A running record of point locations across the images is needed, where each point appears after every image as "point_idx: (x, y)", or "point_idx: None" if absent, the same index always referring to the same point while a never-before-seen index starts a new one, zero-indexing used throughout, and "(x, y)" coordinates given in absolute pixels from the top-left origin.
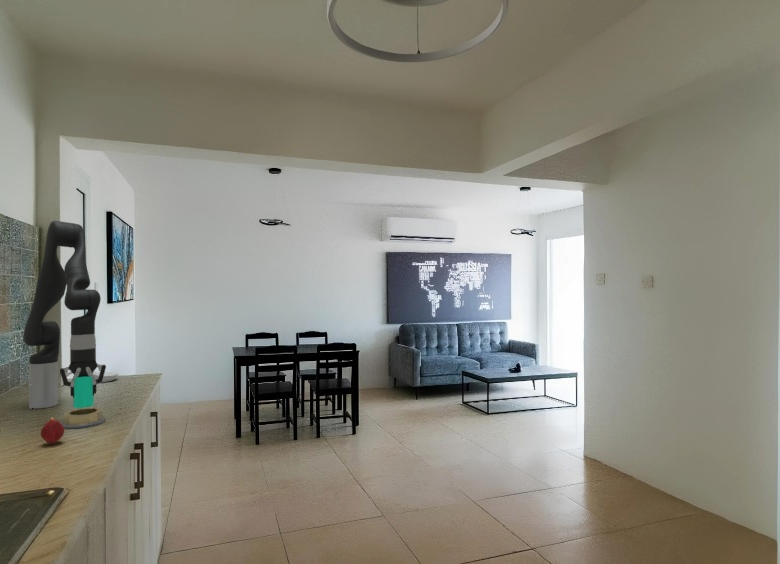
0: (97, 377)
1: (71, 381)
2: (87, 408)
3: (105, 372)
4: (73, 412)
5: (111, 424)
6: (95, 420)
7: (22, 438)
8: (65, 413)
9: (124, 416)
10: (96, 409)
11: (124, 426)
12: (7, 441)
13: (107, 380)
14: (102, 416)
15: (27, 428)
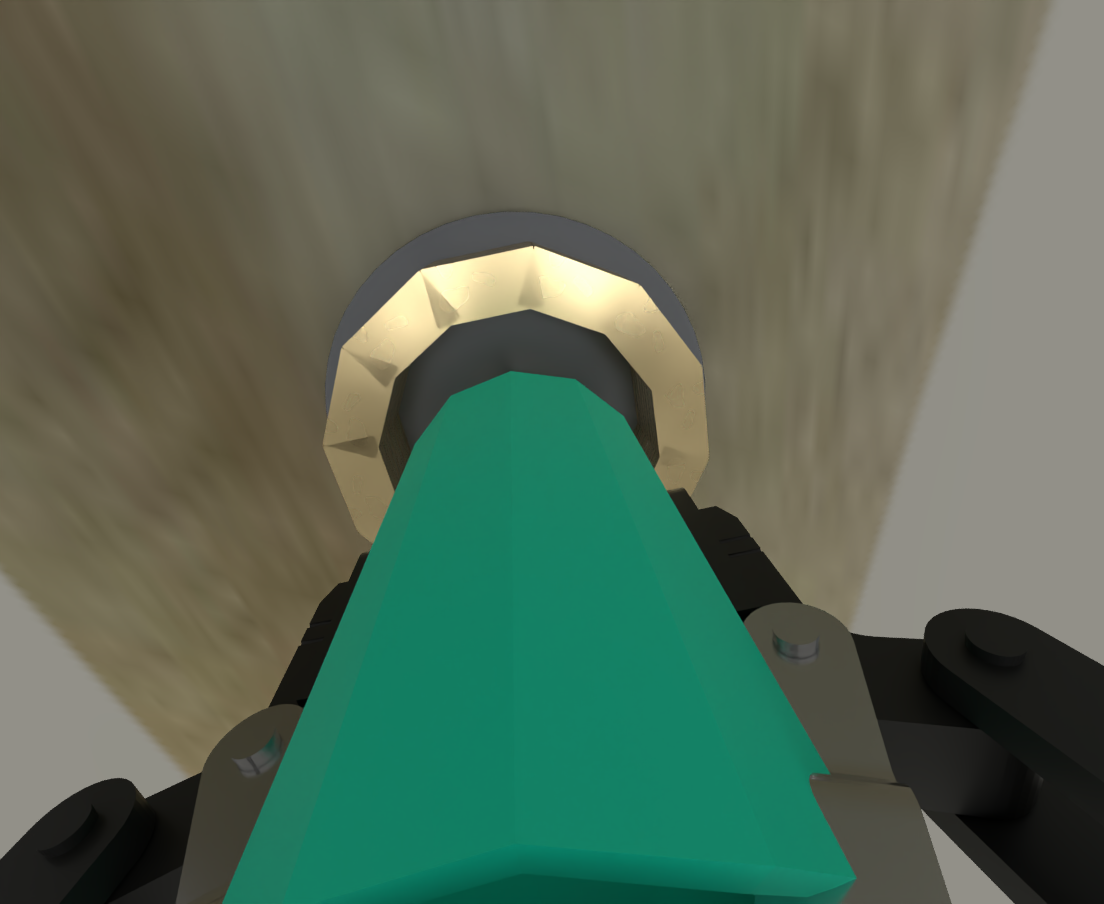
0: None
1: (211, 869)
2: (534, 297)
3: None
4: (398, 375)
5: (746, 518)
6: None
7: (192, 666)
8: (340, 465)
9: (864, 281)
10: (647, 384)
11: (828, 596)
12: (123, 699)
13: None
14: (678, 327)
15: (39, 407)
